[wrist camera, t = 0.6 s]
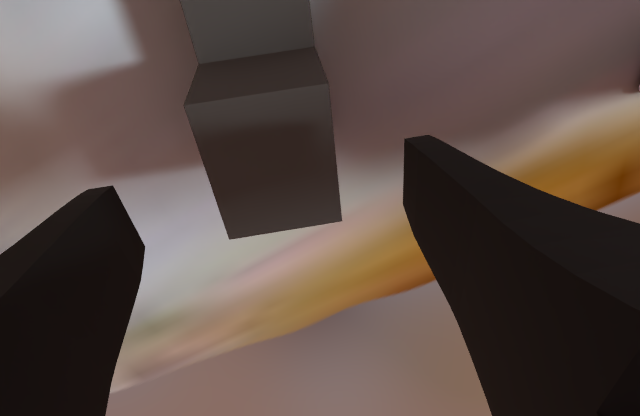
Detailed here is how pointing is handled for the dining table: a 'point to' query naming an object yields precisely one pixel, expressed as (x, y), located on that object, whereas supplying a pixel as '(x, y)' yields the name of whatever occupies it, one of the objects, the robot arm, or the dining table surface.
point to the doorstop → (262, 115)
